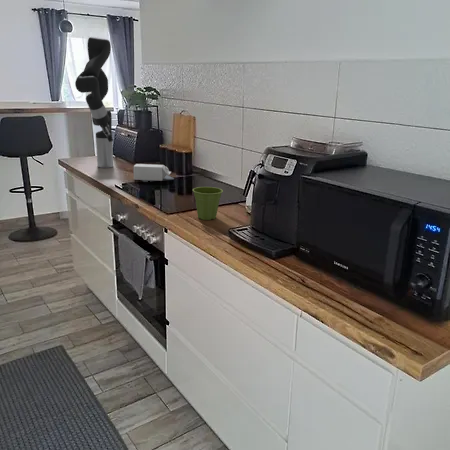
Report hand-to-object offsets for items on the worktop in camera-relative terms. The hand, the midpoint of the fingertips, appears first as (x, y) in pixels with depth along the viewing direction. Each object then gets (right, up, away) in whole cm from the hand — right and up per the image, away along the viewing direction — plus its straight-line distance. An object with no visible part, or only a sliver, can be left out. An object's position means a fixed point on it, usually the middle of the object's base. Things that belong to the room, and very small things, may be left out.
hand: (110, 140), depth 232 cm
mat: (+22, -19, +8) cm, 30 cm away
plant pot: (+53, -42, -57) cm, 88 cm away
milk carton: (+12, -16, +2) cm, 20 cm away
